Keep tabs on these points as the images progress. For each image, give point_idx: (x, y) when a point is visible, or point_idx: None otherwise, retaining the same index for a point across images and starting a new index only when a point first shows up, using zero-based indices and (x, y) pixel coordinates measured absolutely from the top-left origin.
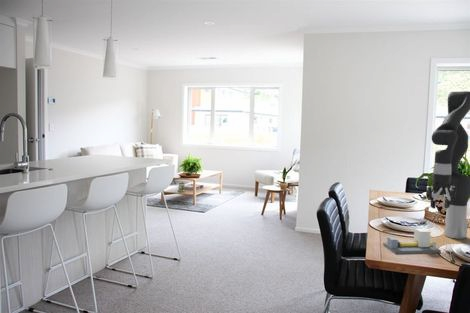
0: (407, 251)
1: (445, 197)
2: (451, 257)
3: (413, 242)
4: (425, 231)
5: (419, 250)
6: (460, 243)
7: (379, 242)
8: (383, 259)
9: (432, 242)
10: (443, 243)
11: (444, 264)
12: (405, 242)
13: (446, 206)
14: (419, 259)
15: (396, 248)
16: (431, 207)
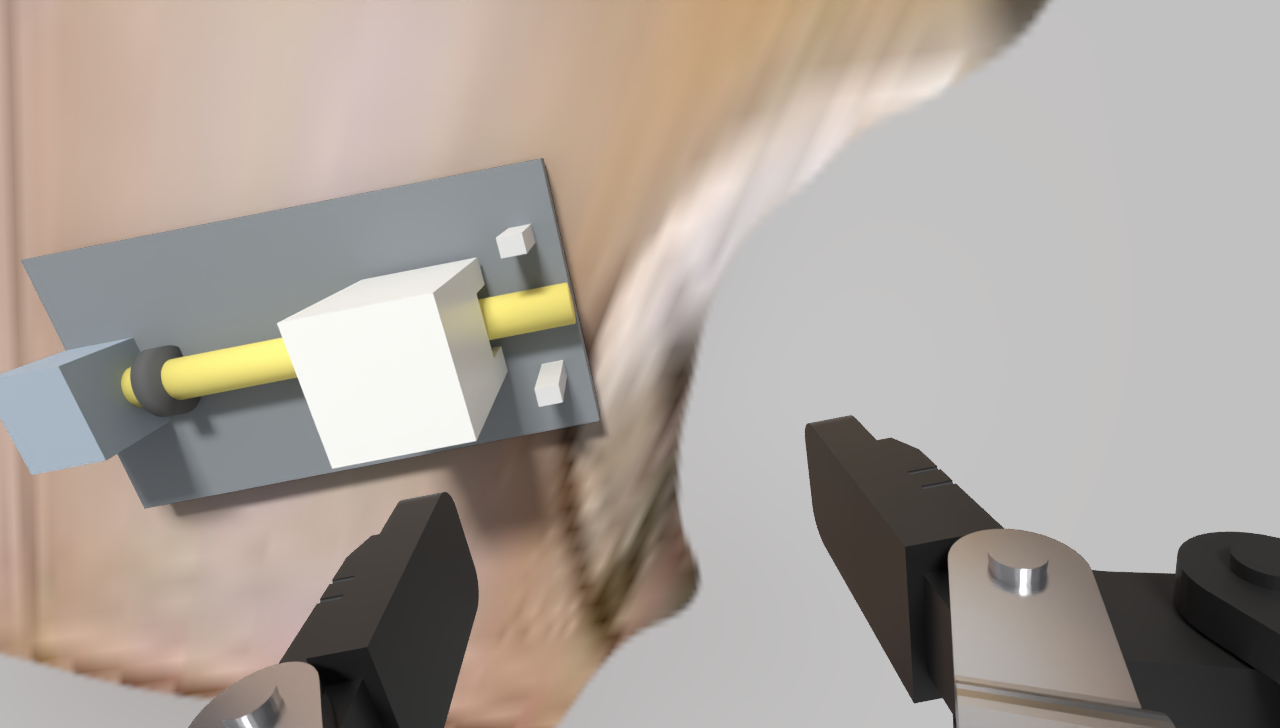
0: (267, 482)
1: (963, 659)
2: (648, 505)
3: (381, 202)
4: (406, 444)
5: (383, 459)
6: (964, 57)
7: (4, 136)
8: (54, 624)
9: (554, 317)
10: (764, 82)
11: (526, 654)
12: (286, 215)
13: (828, 522)
14: None
15: (160, 434)
16: (408, 499)
